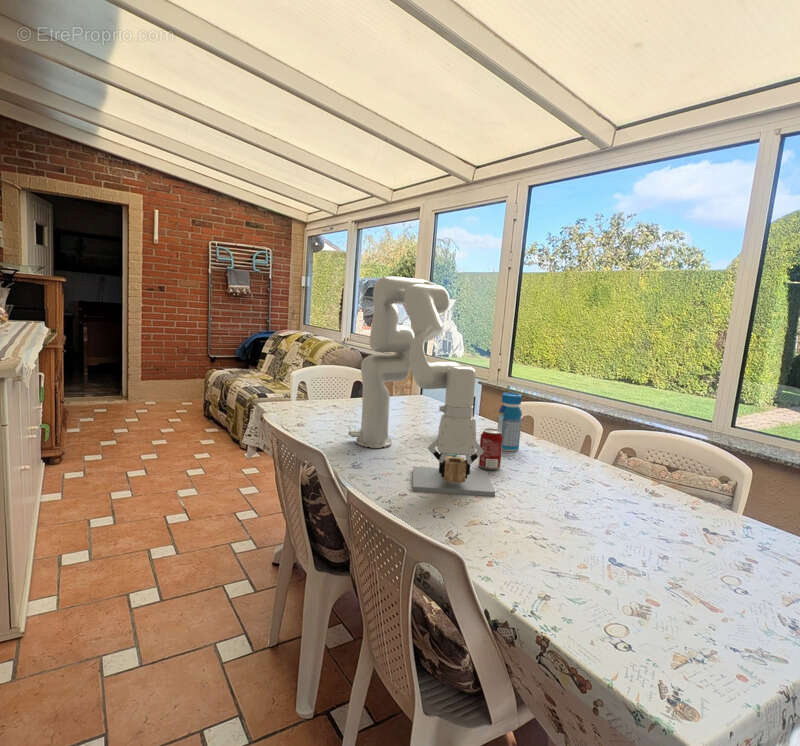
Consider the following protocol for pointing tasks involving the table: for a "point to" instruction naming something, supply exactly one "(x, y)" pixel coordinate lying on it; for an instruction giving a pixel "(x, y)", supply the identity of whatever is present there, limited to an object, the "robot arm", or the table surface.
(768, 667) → the table surface
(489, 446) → the soda can
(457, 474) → the oak gear
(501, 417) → the beverage bottle
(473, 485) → the board
